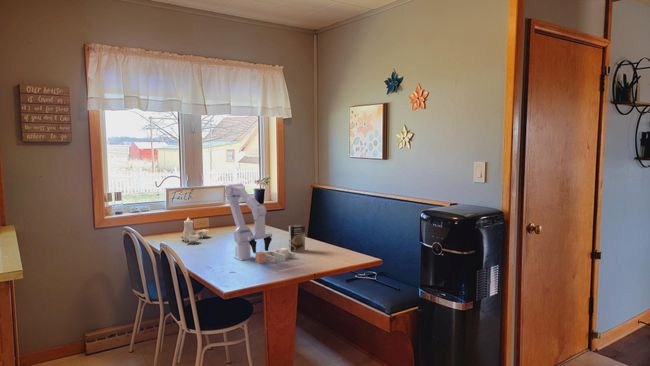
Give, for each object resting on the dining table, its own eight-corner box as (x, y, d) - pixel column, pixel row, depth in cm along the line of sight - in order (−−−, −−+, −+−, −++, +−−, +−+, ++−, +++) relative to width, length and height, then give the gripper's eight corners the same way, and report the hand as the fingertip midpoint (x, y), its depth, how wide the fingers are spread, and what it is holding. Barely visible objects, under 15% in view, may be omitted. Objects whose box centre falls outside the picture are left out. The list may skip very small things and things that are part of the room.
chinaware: (198, 247, 289) (200, 222, 287) (173, 244, 289) (174, 220, 288) (210, 238, 317) (211, 215, 315) (187, 236, 317) (188, 213, 315)
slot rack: (259, 258, 252) (259, 252, 252) (281, 254, 261) (281, 248, 261) (274, 264, 240) (274, 258, 239) (297, 259, 249) (297, 253, 249)
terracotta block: (255, 263, 243) (255, 252, 242) (261, 261, 245) (261, 251, 245) (259, 264, 240) (259, 254, 239) (265, 263, 242) (265, 252, 242)
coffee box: (290, 253, 265) (290, 226, 263) (288, 250, 271) (288, 225, 269) (305, 252, 267) (305, 226, 266) (303, 249, 273) (302, 224, 272)
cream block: (279, 257, 253) (278, 248, 252) (284, 256, 255) (284, 247, 255) (282, 258, 249) (282, 250, 249) (288, 257, 252) (288, 249, 251)
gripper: (251, 230, 233) (252, 255, 234) (274, 226, 242) (275, 250, 243) (245, 228, 239) (246, 252, 240) (268, 225, 248) (268, 248, 249)
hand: (260, 251), depth 242 cm, fingers open, 7 cm apart
